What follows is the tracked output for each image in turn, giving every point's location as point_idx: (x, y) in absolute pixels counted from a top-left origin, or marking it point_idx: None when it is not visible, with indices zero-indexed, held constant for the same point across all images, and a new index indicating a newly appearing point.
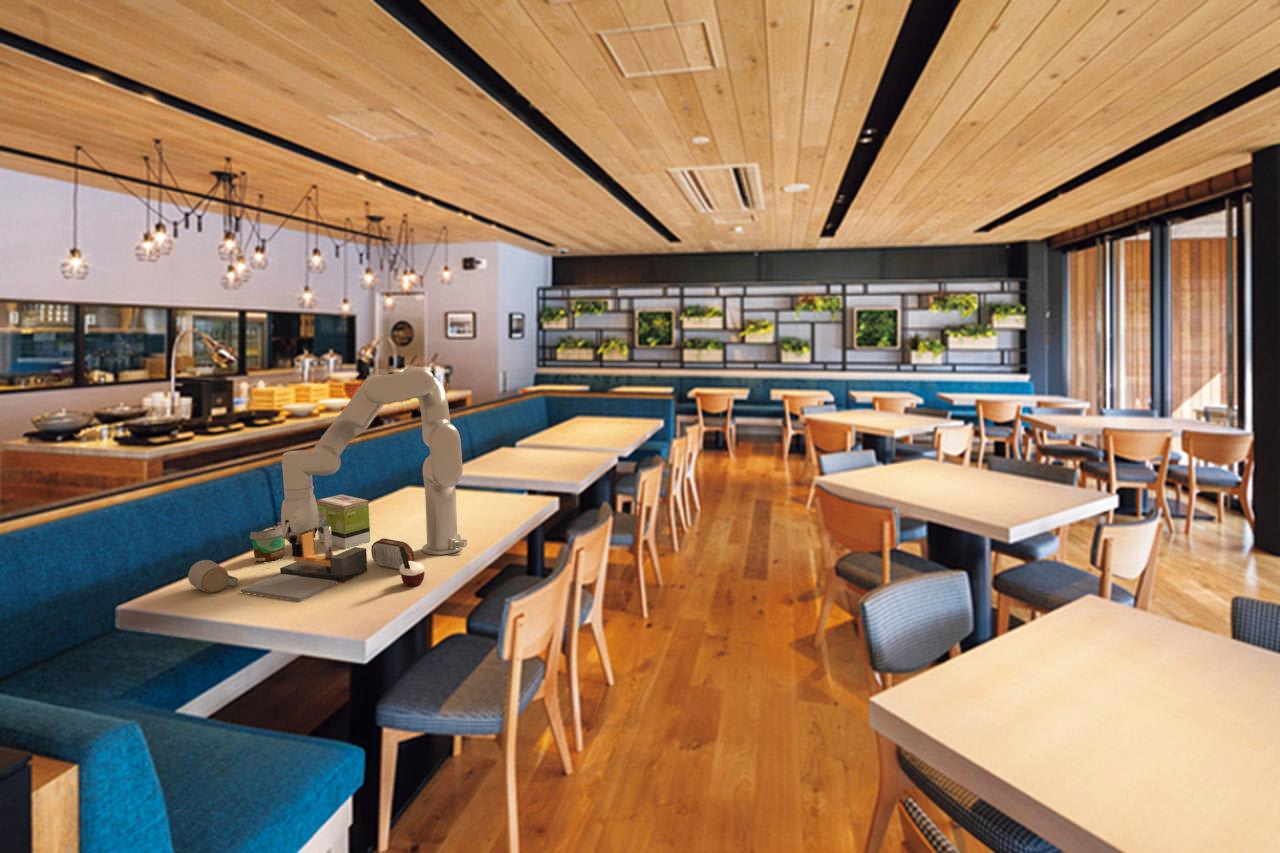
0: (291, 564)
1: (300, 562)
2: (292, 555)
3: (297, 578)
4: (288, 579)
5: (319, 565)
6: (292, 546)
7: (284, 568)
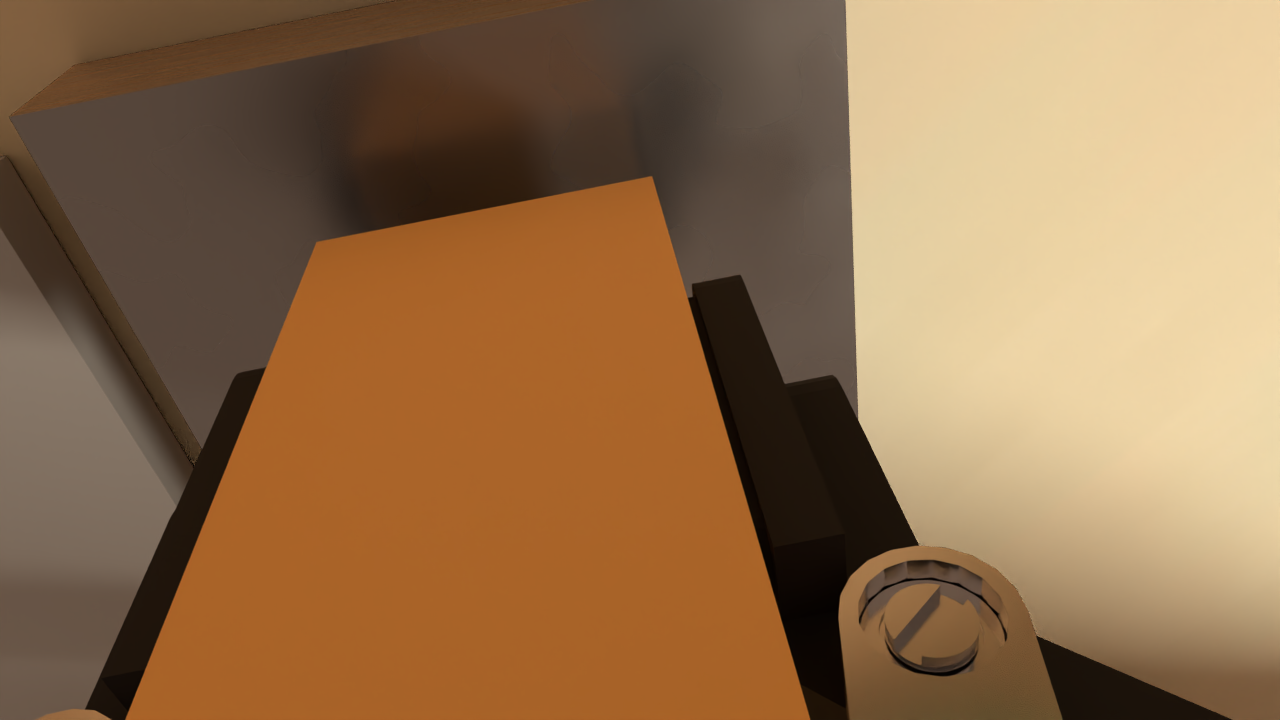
0: (324, 111)
1: (527, 160)
2: (240, 373)
3: None
4: (12, 561)
5: None
6: (110, 698)
7: (82, 227)
